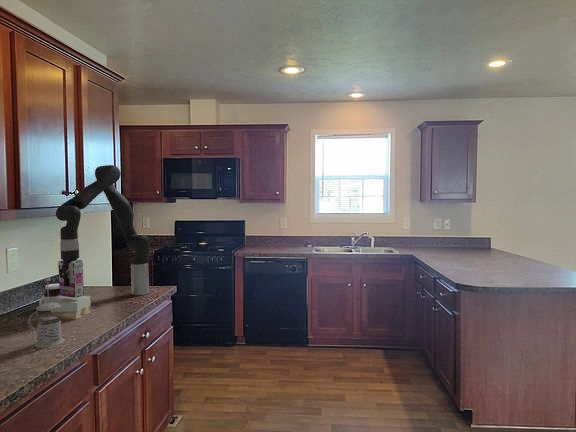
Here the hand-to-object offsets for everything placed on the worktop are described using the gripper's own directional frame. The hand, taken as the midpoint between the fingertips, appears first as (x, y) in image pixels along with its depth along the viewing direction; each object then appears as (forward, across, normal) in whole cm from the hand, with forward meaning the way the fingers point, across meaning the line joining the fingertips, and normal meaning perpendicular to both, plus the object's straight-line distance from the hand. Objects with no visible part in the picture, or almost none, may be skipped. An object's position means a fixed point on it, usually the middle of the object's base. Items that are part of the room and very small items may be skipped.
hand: (71, 284), depth 186 cm
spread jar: (+15, -11, -18) cm, 26 cm away
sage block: (+11, 0, 0) cm, 11 cm away
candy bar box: (+5, 0, 0) cm, 5 cm away
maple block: (+15, 0, 0) cm, 15 cm away
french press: (+15, +34, +12) cm, 39 cm away
